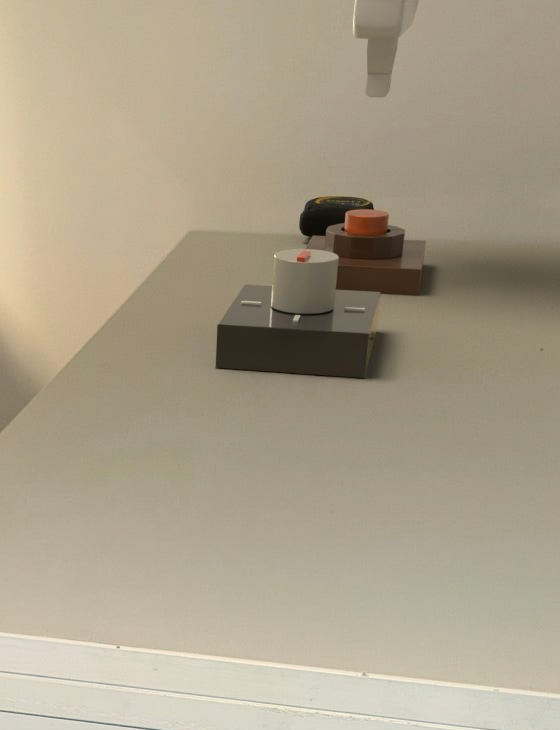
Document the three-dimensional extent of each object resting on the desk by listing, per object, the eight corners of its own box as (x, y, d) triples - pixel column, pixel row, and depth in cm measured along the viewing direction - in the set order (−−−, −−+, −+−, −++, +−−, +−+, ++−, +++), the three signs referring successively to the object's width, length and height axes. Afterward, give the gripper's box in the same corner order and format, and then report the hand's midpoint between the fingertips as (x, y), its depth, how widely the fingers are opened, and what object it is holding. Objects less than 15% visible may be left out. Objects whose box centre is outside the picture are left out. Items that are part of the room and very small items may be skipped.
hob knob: (277, 297, 94) (281, 242, 92) (339, 301, 92) (344, 246, 91) (264, 311, 90) (268, 255, 88) (328, 316, 89) (333, 259, 87)
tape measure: (295, 245, 125) (298, 205, 123) (308, 232, 131) (311, 193, 129) (367, 250, 123) (371, 209, 121) (377, 236, 129) (381, 196, 127)
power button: (345, 229, 113) (347, 208, 112) (388, 231, 112) (390, 210, 111) (342, 237, 110) (343, 215, 109) (385, 239, 109) (387, 217, 108)
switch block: (310, 260, 119) (313, 214, 117) (422, 265, 117) (428, 219, 115) (294, 289, 109) (298, 240, 107) (417, 296, 107) (423, 246, 105)
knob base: (242, 324, 99) (244, 282, 97) (376, 332, 97) (380, 289, 95) (215, 368, 89) (217, 321, 87) (364, 378, 86) (369, 331, 85)
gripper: (437, -106, 90) (411, 110, 97) (444, -95, 108) (421, 86, 114) (344, -106, 92) (325, 106, 98) (366, -96, 109) (348, 84, 115)
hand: (377, 95), depth 106 cm, fingers closed
